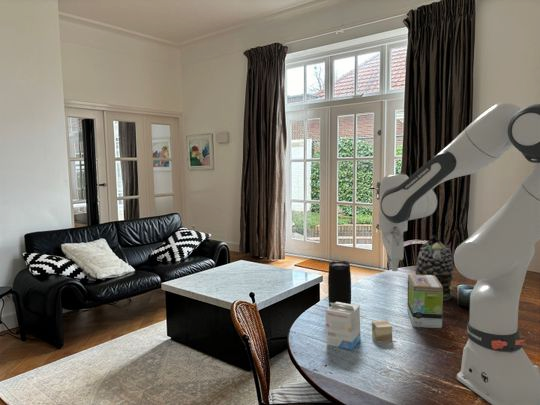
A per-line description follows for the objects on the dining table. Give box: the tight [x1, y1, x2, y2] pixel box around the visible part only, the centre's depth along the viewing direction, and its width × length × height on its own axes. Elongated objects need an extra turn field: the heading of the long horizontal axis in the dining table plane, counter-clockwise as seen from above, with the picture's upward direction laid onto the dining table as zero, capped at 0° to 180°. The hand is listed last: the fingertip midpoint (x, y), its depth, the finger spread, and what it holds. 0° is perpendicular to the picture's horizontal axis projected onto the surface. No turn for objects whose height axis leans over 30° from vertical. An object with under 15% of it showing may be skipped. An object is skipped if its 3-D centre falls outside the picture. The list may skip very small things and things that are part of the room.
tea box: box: [406, 273, 444, 329], centre depth 146 cm, size 15×10×15 cm, turn 168°
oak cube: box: [371, 319, 393, 343], centre depth 133 cm, size 5×5×5 cm
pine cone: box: [414, 234, 454, 301], centre depth 170 cm, size 21×15×25 cm
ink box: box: [325, 302, 361, 351], centre depth 130 cm, size 9×8×13 cm
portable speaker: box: [327, 260, 352, 308], centre depth 154 cm, size 9×9×20 cm
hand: (392, 266), depth 132 cm, fingers open, 8 cm apart
